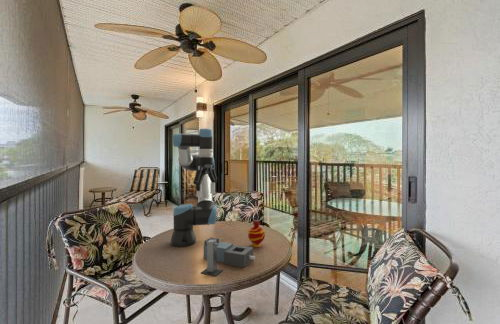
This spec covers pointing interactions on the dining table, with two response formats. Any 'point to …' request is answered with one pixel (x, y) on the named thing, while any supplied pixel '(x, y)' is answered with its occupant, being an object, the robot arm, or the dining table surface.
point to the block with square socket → (231, 253)
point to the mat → (212, 273)
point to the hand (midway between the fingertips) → (206, 195)
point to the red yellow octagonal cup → (256, 234)
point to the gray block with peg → (211, 256)
